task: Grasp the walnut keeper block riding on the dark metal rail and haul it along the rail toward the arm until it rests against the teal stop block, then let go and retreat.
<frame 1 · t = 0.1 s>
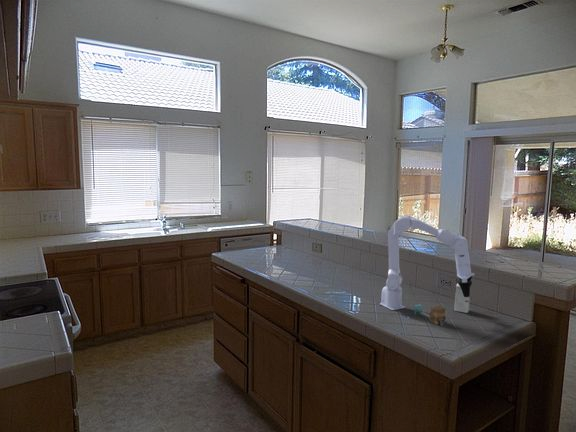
hand: (466, 294, 170), 11 cm above the worktop, tool pointing down, fingers open, 7 cm apart
keeper: (437, 314, 166), point 3 cm above the worktop, slide at 0.0 cm
rail: (430, 319, 169), on the worktop
skincare box: (461, 311, 180), on the worktop
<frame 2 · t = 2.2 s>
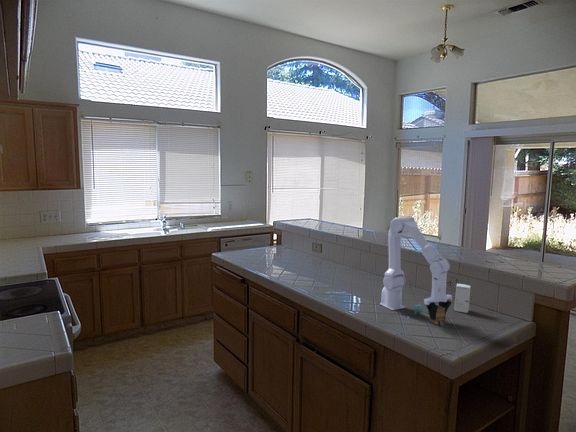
hand: (437, 318, 166), 2 cm above the worktop, tool pointing down, fingers closed on keeper, 5 cm apart
keeper: (437, 314, 166), point 3 cm above the worktop, slide at 0.0 cm, touching gripper
everything else where it was.
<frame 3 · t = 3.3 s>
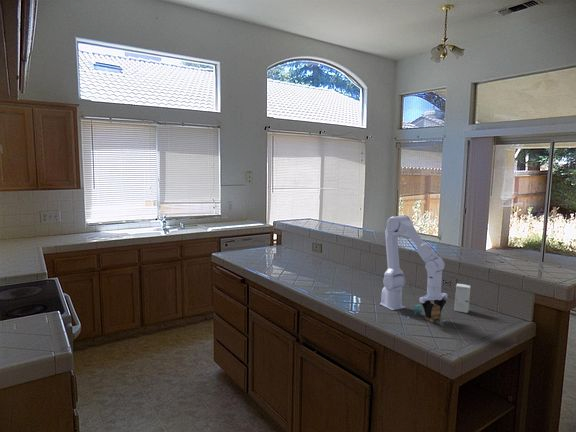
hand: (432, 316, 168), 2 cm above the worktop, tool pointing down, fingers closed on keeper, 5 cm apart
keeper: (433, 312, 168), point 3 cm above the worktop, slide at 2.6 cm, touching gripper
everything else where it was.
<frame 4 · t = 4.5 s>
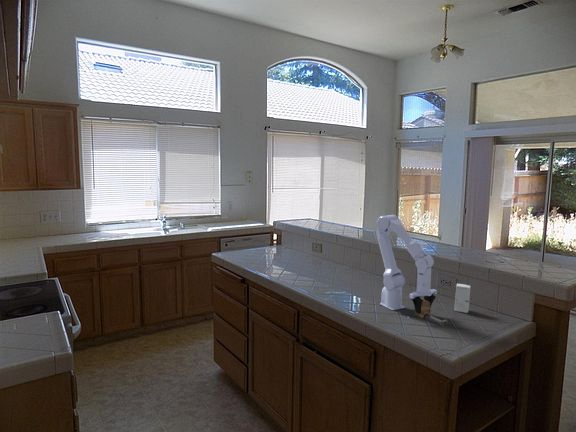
hand: (422, 311, 173), 2 cm above the worktop, tool pointing down, fingers closed on keeper, 5 cm apart
keeper: (422, 308, 173), point 3 cm above the worktop, slide at 8.4 cm, touching gripper
everything else where it was.
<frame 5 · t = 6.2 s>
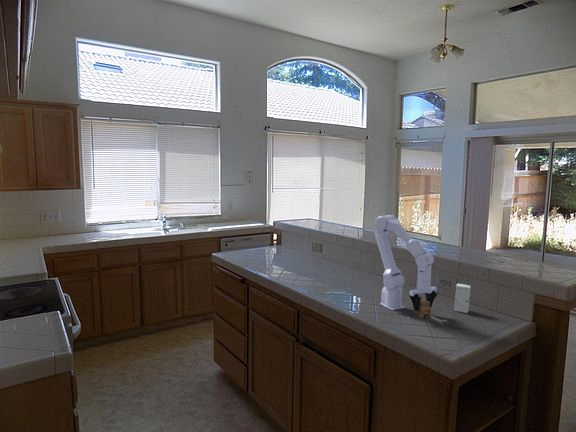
hand: (422, 308, 173), 3 cm above the worktop, tool pointing down, fingers open, 7 cm apart
keeper: (422, 308, 173), point 3 cm above the worktop, slide at 8.4 cm
everything else where it was.
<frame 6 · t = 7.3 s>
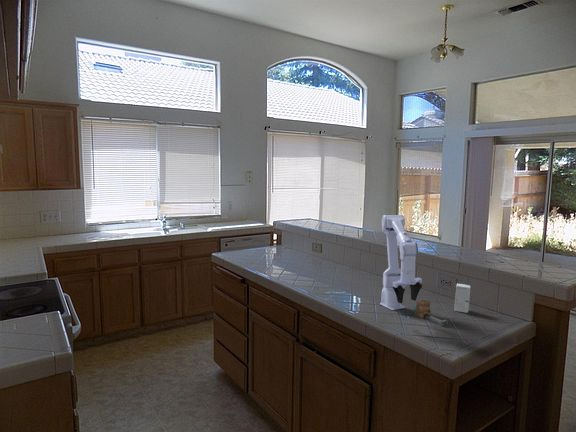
hand: (406, 301, 165), 9 cm above the worktop, tool pointing down, fingers open, 7 cm apart
nothing on the worktop moved.
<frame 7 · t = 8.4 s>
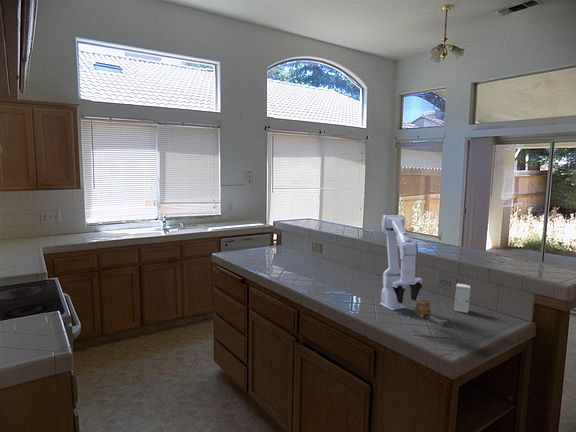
hand: (406, 301, 165), 9 cm above the worktop, tool pointing down, fingers open, 7 cm apart
nothing on the worktop moved.
at the end: keeper slide at 8.4 cm; the gripper is holding nothing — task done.
